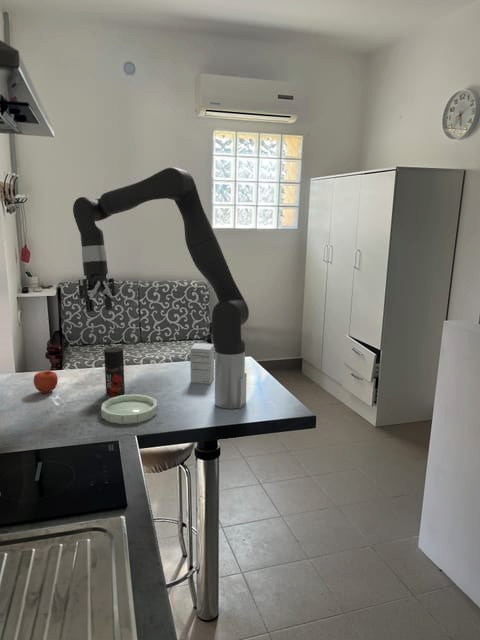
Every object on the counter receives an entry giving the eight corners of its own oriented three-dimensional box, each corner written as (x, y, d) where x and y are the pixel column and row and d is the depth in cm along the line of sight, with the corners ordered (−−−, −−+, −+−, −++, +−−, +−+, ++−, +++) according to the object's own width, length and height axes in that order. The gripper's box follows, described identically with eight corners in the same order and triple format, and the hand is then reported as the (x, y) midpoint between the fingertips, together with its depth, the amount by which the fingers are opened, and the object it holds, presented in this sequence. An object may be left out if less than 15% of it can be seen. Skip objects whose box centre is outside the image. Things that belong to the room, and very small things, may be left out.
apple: (36, 389, 162) (34, 366, 160) (59, 387, 164) (57, 364, 162) (33, 397, 155) (31, 373, 153) (57, 395, 157) (56, 371, 155)
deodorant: (127, 391, 162) (125, 347, 158) (121, 397, 156) (119, 352, 153) (110, 390, 162) (108, 346, 159) (103, 396, 156) (101, 351, 153)
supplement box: (194, 376, 177) (194, 342, 175) (214, 377, 176) (214, 343, 174) (189, 382, 170) (189, 348, 168) (210, 384, 169) (210, 349, 167)
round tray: (166, 405, 150) (165, 398, 149) (141, 426, 135) (140, 418, 134) (120, 399, 154) (119, 392, 154) (90, 419, 139) (90, 411, 139)
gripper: (87, 259, 148) (93, 312, 149) (118, 260, 161) (123, 308, 162) (69, 261, 152) (75, 313, 153) (101, 262, 164) (106, 309, 166)
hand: (99, 310), depth 157 cm, fingers open, 8 cm apart
